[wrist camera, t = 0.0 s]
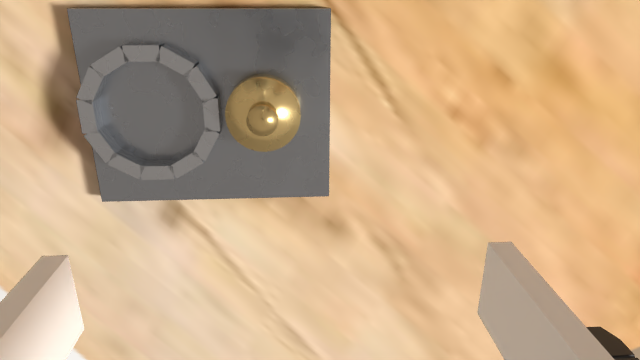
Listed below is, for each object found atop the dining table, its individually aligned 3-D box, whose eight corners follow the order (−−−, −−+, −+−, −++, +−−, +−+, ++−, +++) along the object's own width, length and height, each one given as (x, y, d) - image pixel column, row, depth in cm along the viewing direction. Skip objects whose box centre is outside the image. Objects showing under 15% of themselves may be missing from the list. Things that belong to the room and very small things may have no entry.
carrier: (73, 8, 38) (45, 11, 33) (329, 7, 39) (335, 10, 34) (106, 196, 44) (86, 219, 39) (327, 190, 45) (332, 213, 40)
